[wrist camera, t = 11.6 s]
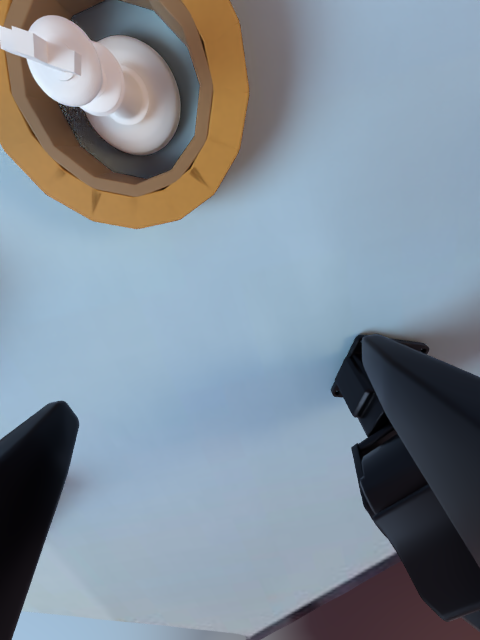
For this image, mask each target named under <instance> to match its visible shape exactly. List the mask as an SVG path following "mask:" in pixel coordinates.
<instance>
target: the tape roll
mask: <svg viewBox="0 0 480 640" xmlns="http://www.w3.org/2000/svg"><path fill="white" fill-rule="evenodd" d="M103 1H105V0H0V26H2V27H5V28H8V29H11V30H12V26H14V27H17V28H20V29H23V30H26V31H29V29H30V27H31V25H32V24H33V23H34V22H35V21H36V20H38V19H39V18H41V17H43V16H47V15H56V16H61V17H64V18H66V19H68V20H71V18H72V16H73V15H75V14H77V13H80V12H82V11H84V10H86V9H88V8H90V7H92V6H94V5H96V4H98V3H101V2H103ZM120 1H123V2H127V3H130V4H133V5H137V6H140V7H144V8H147V9H150V10H154V11H155V12H156V14H157V15H158V16H159V17H160V18H161V19H162V20H163V21H164V22H165V23H166V25H167V26H168V27H169V28H170V29H171V30H172V31H173V32H174V33H175V34H176V35H177V37H178V38H179V39H180V40H181V41H182V42H183V43H184V44H185V45H186V46H187V48H188V50H189V53H190V56H191V59H192V62H193V66H194V69H195V72H196V75H197V78H198V81H199V84H200V89H199V98H198V108H197V117H196V127H195V136H194V137H193V139H192V140H191V142H190V143H189V144H188V146H187V147H186V149H185V150H184V152H183V153H182V155H181V156H180V158H179V159H178V161H177V162H176V163H175V165H174V166H173V168H172V169H171V170H169V171H166V172H164V173H161V174H159V175H156V176H154V177H151V178H149V179H144V178H140V177H135V176H130V175H125V174H120V173H115V172H112V171H111V170H110V169H108V168H107V167H106V166H105V165H103V164H102V163H101V162H100V161H98V160H97V159H96V158H95V157H93V156H92V155H91V154H90V153H88V152H87V151H86V150H85V149H84V148H82V147H81V146H80V144H79V142H78V141H77V139H76V137H75V135H74V133H73V131H72V129H71V127H70V126H69V124H68V122H67V120H66V118H65V116H64V114H63V113H62V111H61V109H60V107H59V105H58V102H57V101H55V100H54V99H52V98H51V97H49V96H48V95H47V94H46V93H45V92H44V91H43V90H42V89H41V87H40V86H39V85H38V83H37V82H36V81H35V79H34V77H33V75H32V73H31V71H30V69H29V66H28V62H27V58H24V57H21V56H18V55H15V54H12V53H9V52H7V51H5V50H3V49H1V47H0V144H1V145H2V147H3V149H4V151H5V152H6V153H7V154H8V155H9V156H10V157H11V158H12V159H13V161H14V162H15V163H16V164H17V165H18V166H19V167H20V168H21V169H22V170H23V171H24V172H25V173H26V174H27V175H28V176H29V177H30V178H31V179H32V180H33V182H34V183H35V184H36V185H37V186H38V187H39V188H40V189H41V190H42V191H43V192H44V193H45V194H47V195H48V196H49V197H51V198H53V199H55V200H57V201H58V202H60V203H62V204H64V205H65V206H67V207H69V208H71V209H72V210H74V211H76V212H78V213H79V214H81V215H83V216H85V217H86V218H88V219H90V220H92V221H95V222H100V223H106V224H111V225H117V226H122V227H128V228H133V229H141V228H145V227H150V226H154V225H159V224H164V223H168V222H173V221H177V220H180V219H182V218H183V217H184V216H186V215H187V214H188V213H190V212H191V211H192V210H194V209H195V208H197V207H198V206H199V205H201V204H202V203H203V202H205V201H206V200H207V199H209V198H210V197H211V196H213V195H214V193H215V192H216V191H217V189H218V187H219V186H220V184H221V182H222V180H223V179H224V177H225V175H226V173H227V172H228V170H229V168H230V167H231V165H232V163H233V161H234V160H235V158H236V156H237V155H238V153H239V150H240V146H241V140H242V134H243V129H244V123H245V117H246V111H247V105H248V100H249V83H248V76H247V69H246V62H245V55H244V48H243V41H242V34H241V27H240V24H239V19H238V17H237V15H236V13H235V11H234V9H233V7H232V5H231V2H230V0H120Z"/></svg>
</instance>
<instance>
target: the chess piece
mask: <svg viewBox="0 0 480 640" xmlns="http://www.w3.org/2000/svg"><path fill="white" fill-rule="evenodd" d="M0 47H1V49H3V50H5V51H7V52H9V53H12V54H15V55H18V56H21V57H24V58H27V62H28V66H29V69H30V71H31V73H32V75H33V77H34V79H35V81H36V82H37V83H38V85H39V86H40V87H41V89H42V90H43V91H44V92H45V93H46V94H47V95H48V96H49V97H51V98H52V99H54V100H55V101H57V102H59V103H61V104H63V105H66V106H71V107H80V108H82V109H83V110H84V111H85V113H86V116H87V118H88V120H89V121H90V123H91V125H92V126H93V128H94V129H95V130H96V132H97V133H98V134H99V135H100V136H101V137H102V138H103V139H104V140H105V141H106V142H108V143H109V144H110V145H112V146H113V147H115V148H117V149H119V150H121V151H123V152H125V153H128V154H132V155H149V154H152V153H155V152H157V151H159V150H161V149H162V148H163V147H165V146H166V145H167V144H168V143H169V142H170V140H171V139H172V137H173V136H174V134H175V132H176V130H177V127H178V124H179V119H180V112H181V102H180V94H179V90H178V86H177V83H176V80H175V78H174V75H173V73H172V71H171V70H170V68H169V66H168V65H167V63H166V62H165V60H164V59H163V58H162V57H161V56H160V55H159V54H158V53H157V52H156V51H155V50H154V49H153V48H152V47H150V46H149V45H147V44H146V43H144V42H142V41H140V40H138V39H136V38H133V37H130V36H125V35H113V36H109V37H106V38H103V39H101V40H99V41H98V42H95V41H92V40H90V39H89V37H88V36H87V35H86V33H85V32H84V31H83V30H82V29H81V28H80V27H79V26H77V25H76V24H75V23H73V22H72V21H70V20H68V19H66V18H64V17H61V16H56V15H47V16H43V17H41V18H39V19H38V20H36V21H35V22H34V23H33V24H32V25H31V27H30V29H29V31H26V30H23V29H20V28H17V27H14V26H12V30H11V29H8V28H5V27H2V26H0Z"/></svg>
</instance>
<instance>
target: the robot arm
mask: <svg viewBox="0 0 480 640" xmlns="http://www.w3.org/2000/svg"><path fill="white" fill-rule="evenodd" d="M361 340H362V342H360V341H361ZM421 349H422V350H421ZM428 351H429V347H428V346H427V345H426V344H424V343H418V342H411V341H404V340H397V339H390V338H387V337H384V336H382V335H379V334H373V335H358V336H357V337H356V338H355V340H354V342H353V344H352V346H351V348H350V350H349V352H348V355H347V357H346V358H345V359H344V361H343V364H342V366H341V368H340V370H339V372H338V374H337V376H336V378H335V382H334V384H333V386H332V388H331V392H332V394H333V396H335V397H343V398H344V399H345V401H346V403H347V405H348V407H349V409H350V411H351V413H352V415H353V416H354V417H357V418H358V419H359V421H360V423H361V425H362V427H363V429H364V431H365V433H366V435H367V437H368V438H366V439H365V440H363V441H362V442H361V443H359V444H358V443H357V444H355V445H354V446H353V447H352V453H353V458H354V463H355V468H356V473H357V478H358V483H359V488H360V493H361V496H362V501H363V505H364V507H365V509H366V510H367V512H368V513H369V515H370V516H371V518H372V520H373V521H374V523H375V524H376V525H377V527H378V528H379V529H380V531H381V532H382V533H383V534H384V535H385V536H386V537H387V538H388V539H389V541H390V543H391V544H392V546H393V547H394V549H395V550H396V552H397V554H398V555H399V557H400V559H401V561H402V562H403V564H404V566H405V568H406V570H407V572H408V573H409V576H410V577H411V579H412V581H413V583H414V585H415V587H416V589H417V591H418V593H419V595H420V597H421V598H422V599H423V601H424V602H426V604H427V605H428V606H429V607H430V608H432V610H433V611H434V612H436V614H437V615H438V616H440V618H442V619H443V620H444V621H446V622H449V621H451V620H454V619H457V618H460V617H461V618H463V619H464V620H465V621H466V622H468V623H469V624H470V625H472V626H473V627H474V628H475V629H477V630H478V631H479V632H480V377H478V376H476V375H473V374H471V373H469V372H466V371H464V370H462V369H459V368H457V367H455V366H452V365H450V364H448V363H445V362H443V361H441V360H438V359H436V358H433V357H431V356H429V355H427V353H428ZM336 391H337V392H336ZM78 428H79V420H78V418H77V416H76V415H75V414H74V412H73V411H72V409H71V408H70V407H69V405H68V404H67V403H66V402H64V401H57V402H52V403H49V404H47V405H46V406H45V407H43V408H42V409H41V410H39V411H38V412H37V413H35V414H34V415H33V416H31V417H30V418H29V419H27V420H26V421H25V422H23V423H22V424H21V425H19V426H18V427H17V428H15V429H14V430H13V431H11V432H10V433H9V434H7V435H6V436H5V437H3V438H2V439H1V440H0V640H12V637H13V633H14V631H15V628H16V625H17V622H18V619H19V616H20V613H21V610H22V607H23V604H24V601H25V598H26V596H27V593H28V590H29V587H30V584H31V581H32V578H33V575H34V572H35V569H36V566H37V563H38V560H39V557H40V554H41V551H42V548H43V545H44V542H45V540H46V537H47V534H48V531H49V528H50V525H51V522H52V519H53V516H54V513H55V510H56V507H57V504H58V501H59V498H60V495H61V492H62V489H63V487H64V484H65V480H66V477H67V474H68V470H69V466H70V462H71V458H72V453H73V449H74V445H75V441H76V437H77V432H78Z"/></svg>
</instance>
